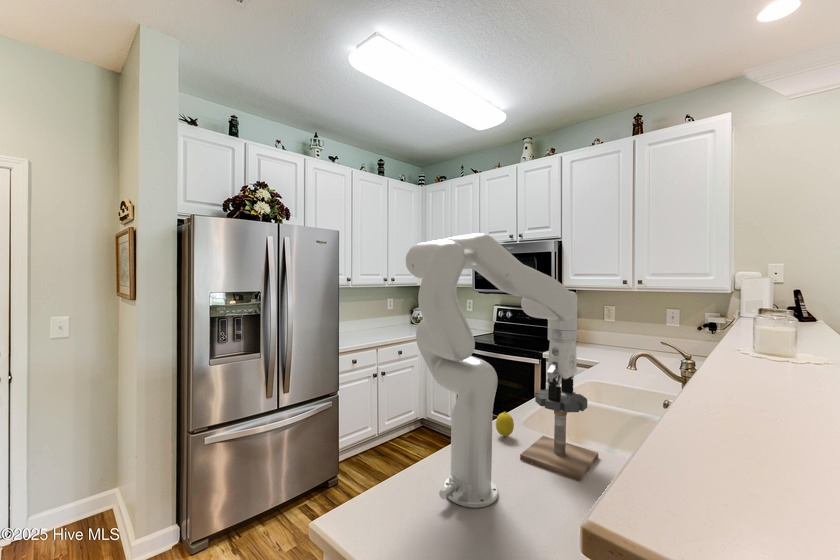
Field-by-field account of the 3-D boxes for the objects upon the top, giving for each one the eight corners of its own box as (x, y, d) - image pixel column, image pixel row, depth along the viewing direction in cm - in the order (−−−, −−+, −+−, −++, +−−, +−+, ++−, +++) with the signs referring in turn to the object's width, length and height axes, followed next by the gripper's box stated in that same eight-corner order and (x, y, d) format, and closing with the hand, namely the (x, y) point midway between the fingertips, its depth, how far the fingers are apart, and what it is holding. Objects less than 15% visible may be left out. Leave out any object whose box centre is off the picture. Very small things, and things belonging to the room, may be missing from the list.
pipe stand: (580, 481, 91) (581, 409, 91) (520, 459, 102) (521, 395, 102) (598, 457, 104) (599, 394, 103) (542, 440, 114) (544, 382, 114)
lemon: (502, 431, 120) (503, 407, 120) (517, 437, 116) (517, 412, 115) (491, 436, 116) (492, 411, 116) (506, 442, 112) (506, 416, 112)
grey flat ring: (577, 416, 93) (577, 408, 93) (528, 403, 102) (528, 396, 102) (592, 403, 103) (592, 396, 103) (546, 392, 112) (546, 386, 112)
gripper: (564, 341, 93) (563, 408, 93) (585, 333, 106) (584, 391, 107) (536, 337, 98) (535, 401, 98) (559, 330, 111) (558, 386, 111)
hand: (561, 396), depth 102 cm, fingers open, 9 cm apart
